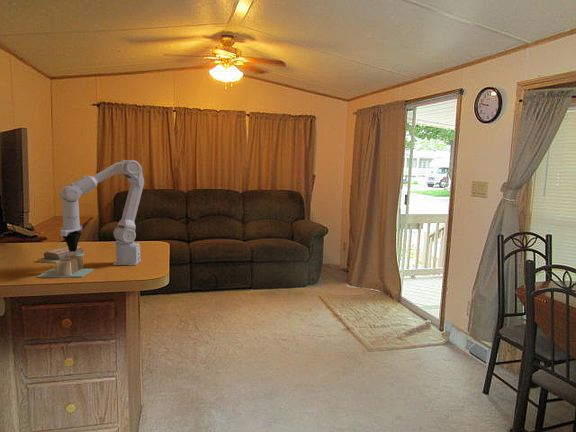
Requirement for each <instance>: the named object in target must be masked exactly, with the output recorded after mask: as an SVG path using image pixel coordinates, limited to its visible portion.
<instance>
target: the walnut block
mask: <svg viewBox="0 0 576 432" xmlns="http://www.w3.org/2000/svg"><path fill="white" fill-rule="evenodd" d="M55 264H56V269H57V275H72V274H74V273H75V272H77V271H79V270H80V269H84V255H83V256H68V257H66V258H64V259H62V260H60V261H58V262H56V263H55Z"/></svg>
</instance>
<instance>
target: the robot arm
mask: <svg viewBox="0 0 576 432" xmlns="http://www.w3.org/2000/svg"><path fill="white" fill-rule="evenodd" d="M115 175H122V176H123V177H125V178H126V179H127V180H128V182H129V183H130V185H129V189H128V193H127V195H126V196H127V197H126V200H125V204H124V208H123V212H122V217H121V219H120V220H119V222H117V226H116V227H115V228H114V231H113V233H112V234H113V238H114V239H115V257H116V258H115V260H116V261H115V262H114V263H113V264H112V265H113V266H137V265H138V264H139V263H140V262H141V261H142V260H141V245H140V243H139V242H135V240H136V236H137V233H136V228H137V227H136V226H137V225H136V223H135V220H136V218H137V213H138V210H139V205H140V201H141V197H142V193H143V189H144V186H145V178H144V174H143V167H142V165H141V164H140V163H139V162H138V161H137V160H134V159H128V160H127V159H122V160H120V161H118V162H115V163H112V165H110V166H108V167H106V168H104V169H103V170H101V171H99V172H97V173H96V174H95V175H92V176H91V175H83V176H81V178H80V179H78V180H77V181H75V182H73V181H72V182H70V183H69V184H70V185H65V186H63V187H62V188H61V189H60V191H59V192H60V193H59V197H60V199H62V201H61V202H62V208H61V209H62V210H61V211H62V226H63V227H60V228H59V229H60V231H59V232H60V237H62V238H63V239H64V241H65V243H66V245H67V246H68V249H69V251H70V252H75V251H76V250H77V246H79V240H80V237H81V236H82V232H79V231H83V225H82V224H81V222H80V205H79V204H80V203H79V200H80V199H81V196H85V195H86V194H88V193H90V192H92V191H93V190H95V189H97V187H98V184H99V183H101V182H103V181H105V180H107V179H109V178H111V177H113V176H115ZM67 246H66V247H67Z"/></svg>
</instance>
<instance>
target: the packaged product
mask: <svg viewBox="0 0 576 432" xmlns="http://www.w3.org/2000/svg"><path fill="white" fill-rule="evenodd" d="M43 256H44V257H41V258H38V259H37V262H39V263H47V264H50V263H51V264H56V262H58V261H60V260H62V259H64V258H66V257H68V256H83V257H84V256H87V252H84V251H83V248H82V246H80V245H77V250H76V251H75V252H70V251H69V249H68V246H63V247H59V248H55V249H51V250H48V251H45V252H44V253H43Z"/></svg>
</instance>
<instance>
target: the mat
mask: <svg viewBox="0 0 576 432" xmlns="http://www.w3.org/2000/svg"><path fill="white" fill-rule="evenodd" d="M93 271H94V268H82V269H80V270H79V271H77V272H75V273H74V274H72V275H57V268H50V269H48V270H46V271H45V272H42V273H41V274H39V275H37V276H36V278H39V279H41V278H43V279H44V278H48V279H49V278H83V277H85V276H87V275H88V274H89V273H91V272H93Z"/></svg>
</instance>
